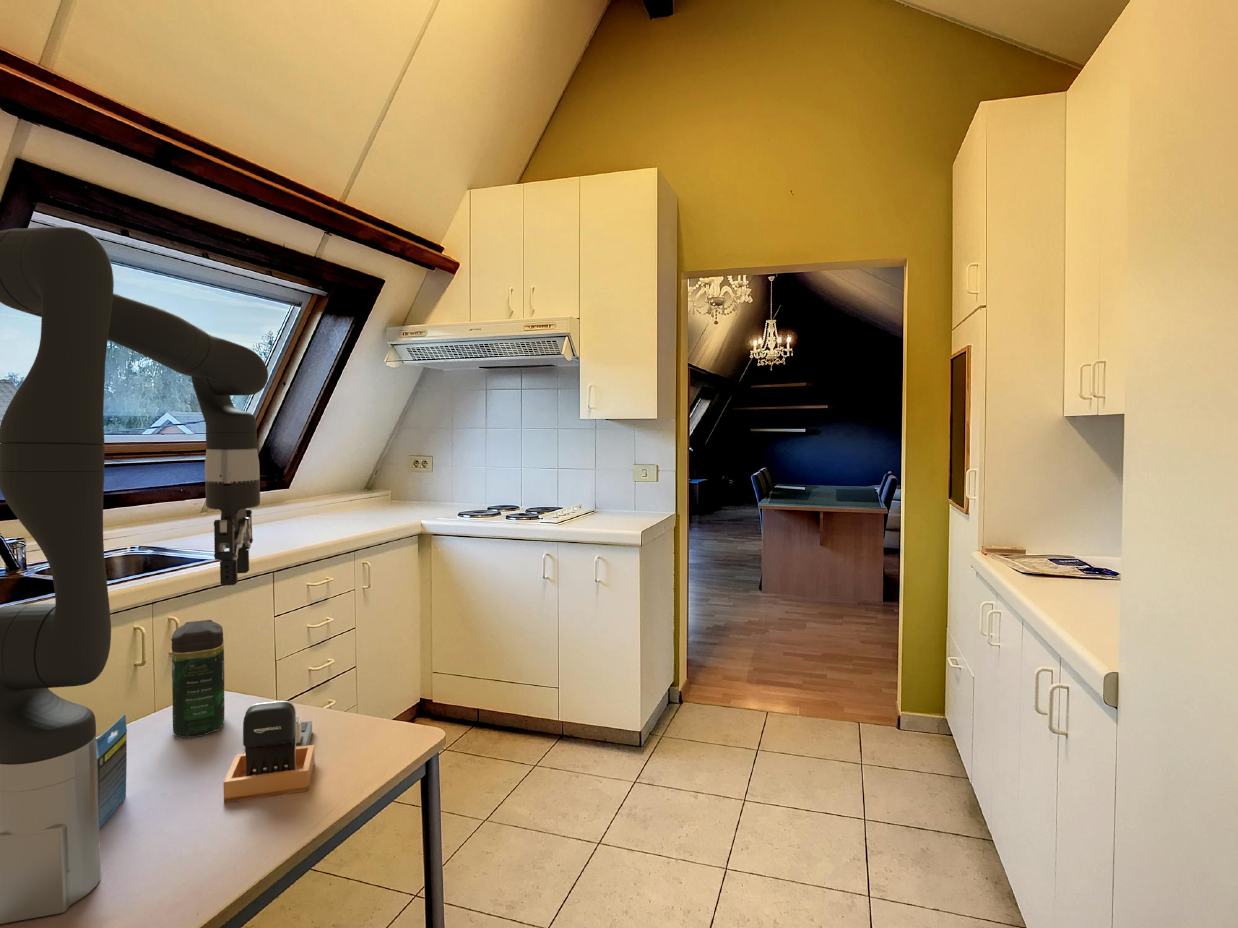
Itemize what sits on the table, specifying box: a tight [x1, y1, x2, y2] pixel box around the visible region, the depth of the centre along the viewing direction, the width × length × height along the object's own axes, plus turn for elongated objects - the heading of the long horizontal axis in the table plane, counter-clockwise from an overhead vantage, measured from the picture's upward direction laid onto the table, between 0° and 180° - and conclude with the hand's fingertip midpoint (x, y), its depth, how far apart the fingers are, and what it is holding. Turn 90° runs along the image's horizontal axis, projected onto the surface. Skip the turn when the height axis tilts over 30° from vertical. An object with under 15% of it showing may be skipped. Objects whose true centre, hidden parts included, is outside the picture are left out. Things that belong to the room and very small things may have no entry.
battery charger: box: [242, 699, 297, 776], centre depth 102 cm, size 7×4×11 cm, turn 108°
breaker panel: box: [242, 720, 313, 754], centre depth 113 cm, size 12×9×2 cm
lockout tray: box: [222, 744, 315, 804], centre depth 103 cm, size 9×11×3 cm
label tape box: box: [96, 713, 128, 830], centre depth 94 cm, size 9×4×12 cm, turn 15°
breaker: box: [296, 716, 302, 743], centre depth 112 cm, size 2×3×3 cm
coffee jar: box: [170, 619, 226, 738], centre depth 121 cm, size 10×8×19 cm
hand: (235, 578), depth 110 cm, fingers open, 8 cm apart
